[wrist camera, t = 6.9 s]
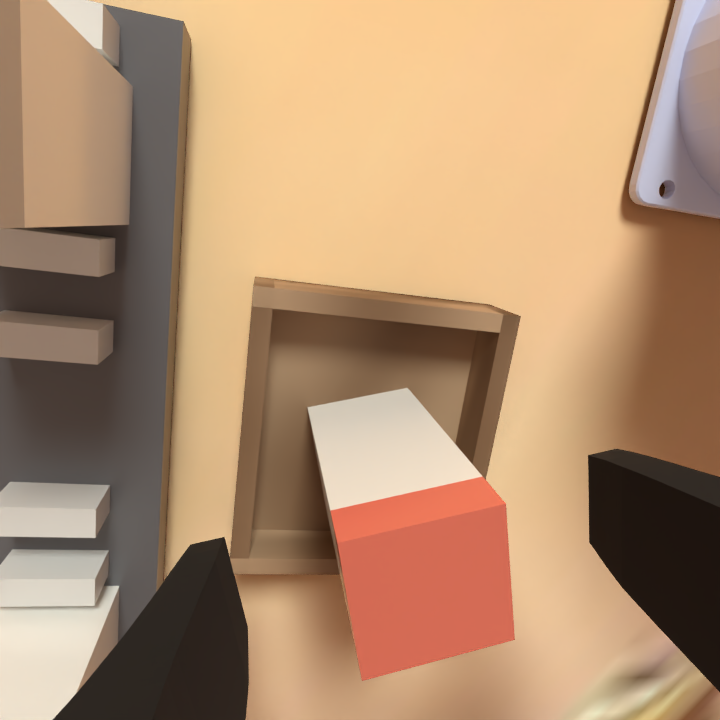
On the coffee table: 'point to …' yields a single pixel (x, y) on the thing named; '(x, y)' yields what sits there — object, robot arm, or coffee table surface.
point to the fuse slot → (52, 653)
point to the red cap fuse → (411, 534)
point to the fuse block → (97, 354)
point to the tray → (347, 381)
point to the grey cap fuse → (60, 124)
